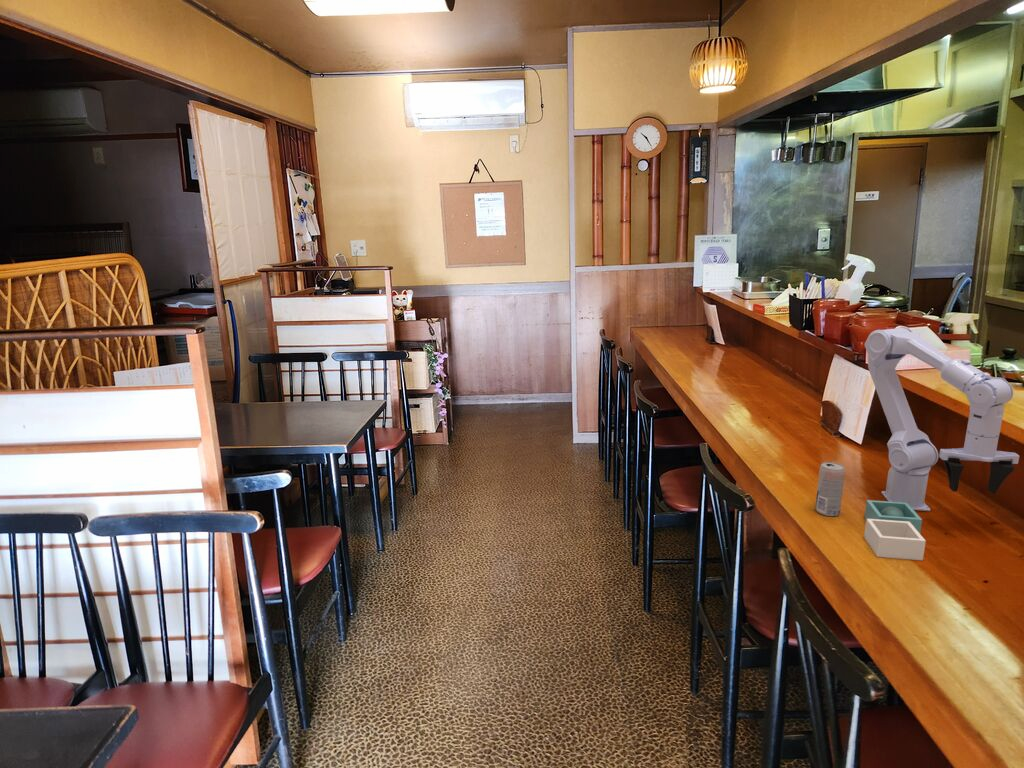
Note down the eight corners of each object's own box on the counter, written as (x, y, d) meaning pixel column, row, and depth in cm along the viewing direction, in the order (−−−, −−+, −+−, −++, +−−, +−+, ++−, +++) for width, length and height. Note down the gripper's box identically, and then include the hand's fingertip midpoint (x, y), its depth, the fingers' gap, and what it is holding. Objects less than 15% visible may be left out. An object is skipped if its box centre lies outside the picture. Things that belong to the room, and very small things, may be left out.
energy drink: (832, 506, 154) (837, 461, 151) (844, 516, 149) (850, 469, 146) (810, 507, 154) (815, 462, 151) (822, 517, 149) (827, 470, 146)
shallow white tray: (864, 536, 139) (866, 518, 138) (906, 540, 137) (909, 521, 136) (877, 556, 131) (879, 537, 130) (922, 560, 129) (925, 540, 128)
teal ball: (875, 522, 146) (877, 502, 145) (899, 523, 145) (901, 503, 144) (882, 532, 141) (884, 512, 140) (907, 533, 140) (909, 513, 139)
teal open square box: (864, 517, 148) (866, 500, 147) (904, 520, 146) (907, 502, 145) (876, 534, 140) (879, 516, 139) (919, 538, 138) (922, 519, 137)
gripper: (953, 437, 134) (943, 496, 137) (1031, 441, 130) (1019, 500, 134) (939, 427, 140) (930, 483, 144) (1013, 430, 137) (1002, 487, 141)
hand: (972, 490), depth 139 cm, fingers open, 7 cm apart
